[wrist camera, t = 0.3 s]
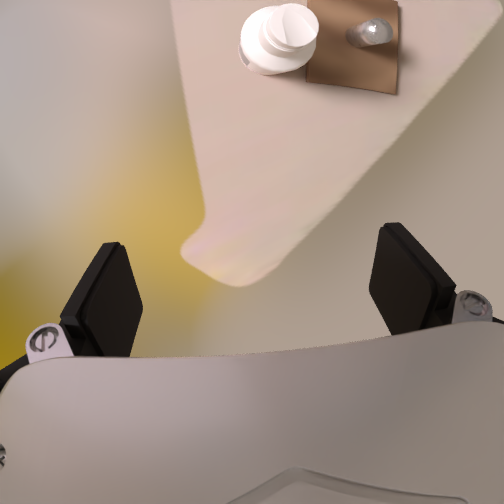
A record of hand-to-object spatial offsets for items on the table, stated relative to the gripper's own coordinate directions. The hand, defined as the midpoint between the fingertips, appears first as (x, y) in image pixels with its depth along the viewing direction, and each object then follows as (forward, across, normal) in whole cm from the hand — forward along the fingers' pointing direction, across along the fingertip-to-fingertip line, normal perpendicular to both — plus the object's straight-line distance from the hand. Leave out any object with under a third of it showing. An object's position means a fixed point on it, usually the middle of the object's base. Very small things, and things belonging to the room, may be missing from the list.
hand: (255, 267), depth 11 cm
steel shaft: (+29, -15, -13) cm, 35 cm away
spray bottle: (+31, -4, -10) cm, 33 cm away
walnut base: (+30, -15, -13) cm, 36 cm away
